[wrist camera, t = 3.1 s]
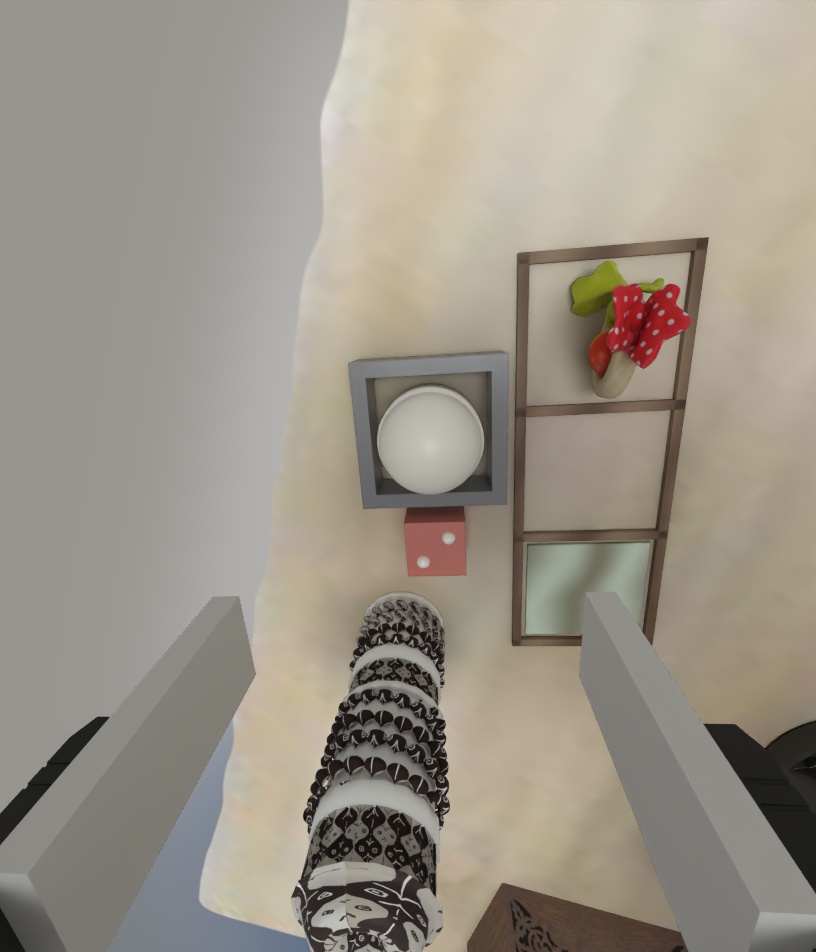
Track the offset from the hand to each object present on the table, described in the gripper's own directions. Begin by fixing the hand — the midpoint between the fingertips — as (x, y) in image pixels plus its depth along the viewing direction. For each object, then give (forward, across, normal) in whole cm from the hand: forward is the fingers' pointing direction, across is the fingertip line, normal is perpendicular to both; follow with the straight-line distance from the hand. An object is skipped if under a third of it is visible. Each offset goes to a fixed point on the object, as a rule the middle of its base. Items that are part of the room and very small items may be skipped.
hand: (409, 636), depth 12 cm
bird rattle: (+28, -14, -7) cm, 32 cm away
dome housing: (+28, 0, +3) cm, 28 cm away
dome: (+25, 0, 0) cm, 25 cm away
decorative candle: (+28, +4, +21) cm, 35 cm away
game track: (+28, -14, +5) cm, 31 cm away
